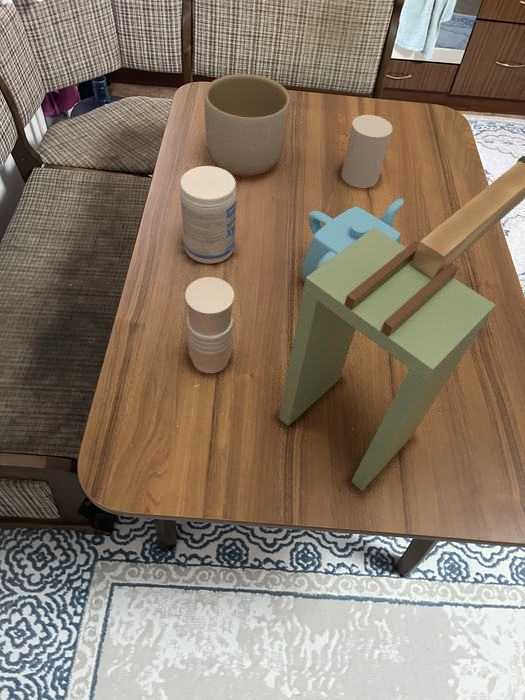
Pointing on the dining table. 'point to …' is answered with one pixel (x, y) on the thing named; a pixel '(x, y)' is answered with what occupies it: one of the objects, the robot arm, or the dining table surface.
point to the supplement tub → (208, 213)
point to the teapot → (344, 233)
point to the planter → (245, 122)
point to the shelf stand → (381, 334)
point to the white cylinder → (366, 150)
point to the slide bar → (470, 222)
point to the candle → (209, 323)
